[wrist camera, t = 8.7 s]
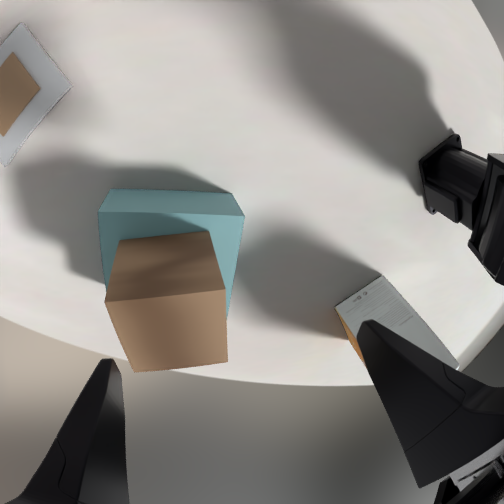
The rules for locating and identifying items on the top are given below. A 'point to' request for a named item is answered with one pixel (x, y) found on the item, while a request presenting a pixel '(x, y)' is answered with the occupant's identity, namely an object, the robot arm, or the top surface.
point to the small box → (390, 319)
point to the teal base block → (172, 223)
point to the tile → (25, 89)
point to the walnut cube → (168, 302)
